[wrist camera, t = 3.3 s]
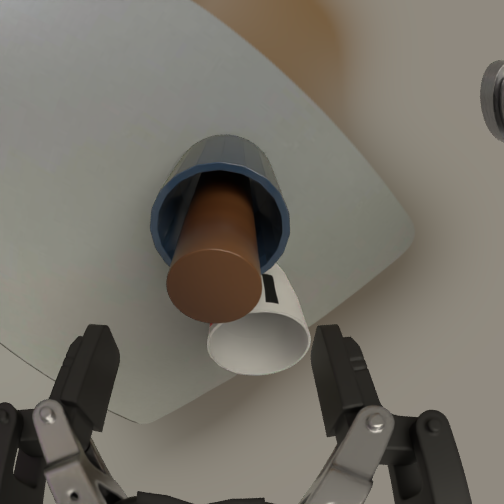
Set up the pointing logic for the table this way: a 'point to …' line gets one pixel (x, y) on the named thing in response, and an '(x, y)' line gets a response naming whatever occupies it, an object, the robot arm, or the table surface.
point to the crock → (233, 160)
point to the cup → (263, 332)
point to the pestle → (217, 252)
